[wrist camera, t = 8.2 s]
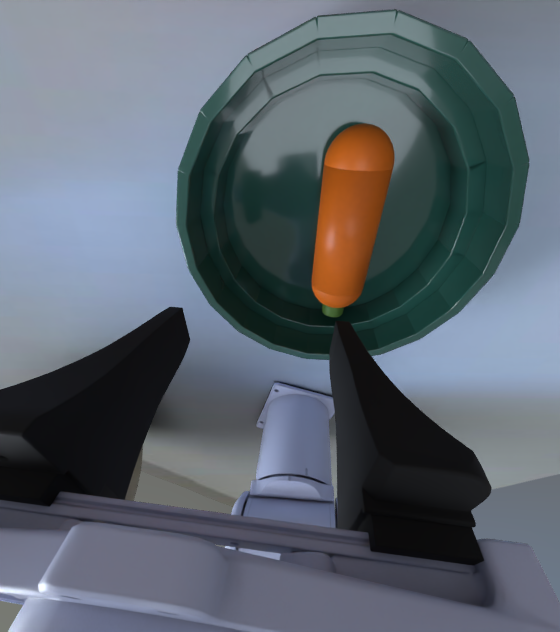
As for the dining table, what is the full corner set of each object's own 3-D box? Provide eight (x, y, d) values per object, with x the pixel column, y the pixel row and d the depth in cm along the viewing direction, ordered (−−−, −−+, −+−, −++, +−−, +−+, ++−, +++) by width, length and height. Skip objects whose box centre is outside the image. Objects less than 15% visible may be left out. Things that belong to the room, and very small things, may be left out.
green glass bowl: (381, 339, 24) (394, 383, 20) (196, 285, 23) (171, 322, 19) (549, 111, 14) (643, 111, 10) (227, -18, 12) (185, -81, 8)
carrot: (343, 295, 22) (365, 321, 19) (302, 301, 21) (319, 329, 18) (377, 122, 15) (420, 125, 12) (317, 121, 14) (348, 124, 11)
